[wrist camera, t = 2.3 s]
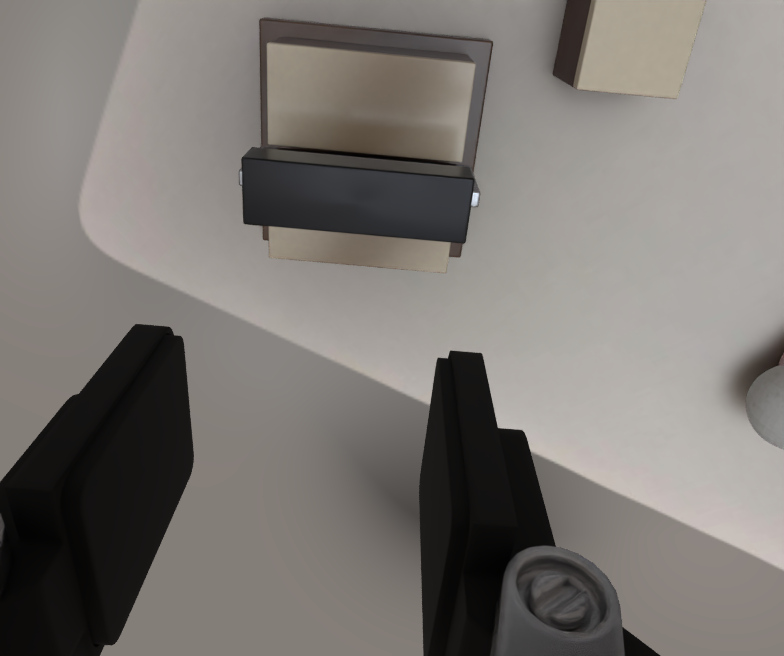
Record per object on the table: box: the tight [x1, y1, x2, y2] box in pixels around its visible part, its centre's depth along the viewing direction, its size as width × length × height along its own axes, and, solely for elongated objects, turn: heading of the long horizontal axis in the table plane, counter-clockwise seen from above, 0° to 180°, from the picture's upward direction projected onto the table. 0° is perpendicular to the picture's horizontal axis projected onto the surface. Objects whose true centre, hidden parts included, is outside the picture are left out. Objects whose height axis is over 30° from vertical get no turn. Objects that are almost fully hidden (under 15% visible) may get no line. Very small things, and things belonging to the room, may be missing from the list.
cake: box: [259, 18, 493, 273], centre depth 28 cm, size 10×10×4 cm
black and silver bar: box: [239, 146, 480, 244], centre depth 24 cm, size 9×2×6 cm, turn 85°
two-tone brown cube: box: [553, 0, 706, 99], centre depth 25 cm, size 4×4×4 cm
